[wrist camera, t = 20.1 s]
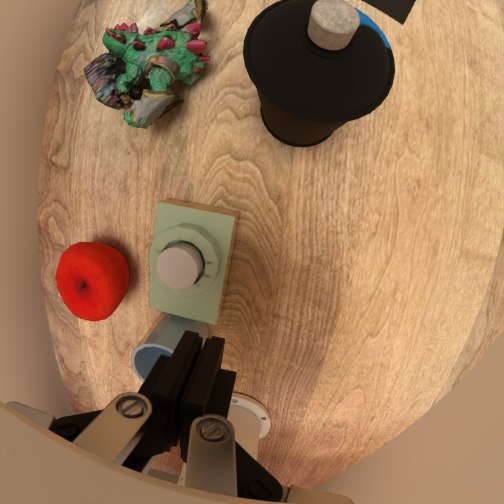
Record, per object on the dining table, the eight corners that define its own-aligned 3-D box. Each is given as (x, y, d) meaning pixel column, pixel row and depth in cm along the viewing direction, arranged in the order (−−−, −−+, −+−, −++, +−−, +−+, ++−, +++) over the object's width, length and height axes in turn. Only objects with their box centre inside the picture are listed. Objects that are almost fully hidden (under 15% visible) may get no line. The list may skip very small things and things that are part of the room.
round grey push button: (200, 286, 28) (194, 294, 26) (162, 276, 28) (154, 284, 26) (205, 246, 26) (200, 253, 25) (166, 238, 27) (157, 243, 25)
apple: (81, 233, 33) (42, 249, 25) (137, 231, 32) (102, 249, 25) (92, 296, 35) (60, 321, 28) (146, 301, 35) (118, 331, 27)
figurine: (128, 165, 25) (265, 81, 22) (43, 79, 16) (192, -35, 12) (140, 116, 33) (240, 54, 29) (83, 51, 23) (189, -22, 20)
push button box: (221, 310, 34) (212, 335, 29) (159, 295, 34) (141, 315, 29) (240, 211, 30) (232, 220, 25) (169, 198, 31) (149, 204, 25)
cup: (205, 357, 36) (188, 400, 28) (157, 343, 36) (132, 382, 28) (212, 314, 34) (194, 355, 26) (159, 300, 34) (130, 335, 26)
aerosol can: (313, 162, 28) (380, 149, 9) (245, 121, 28) (189, 42, 9) (352, 101, 26) (450, 20, 7) (285, 61, 25) (292, -66, 6)
